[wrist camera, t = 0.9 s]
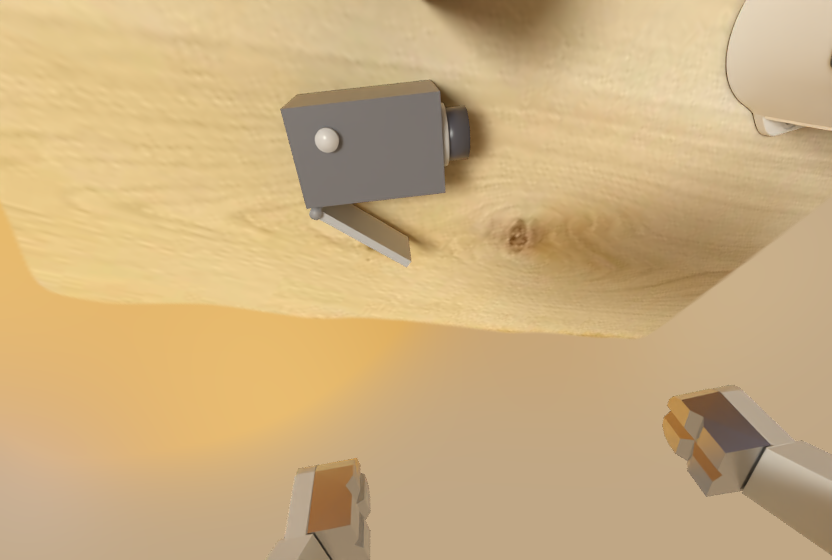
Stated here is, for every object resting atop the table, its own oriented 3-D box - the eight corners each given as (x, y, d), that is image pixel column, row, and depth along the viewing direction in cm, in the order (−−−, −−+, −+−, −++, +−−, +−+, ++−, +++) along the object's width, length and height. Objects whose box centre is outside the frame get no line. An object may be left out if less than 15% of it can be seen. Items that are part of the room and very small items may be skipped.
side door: (408, 234, 43) (412, 262, 38) (403, 241, 43) (406, 270, 38) (321, 183, 39) (312, 207, 34) (316, 191, 40) (307, 216, 35)
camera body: (456, 76, 35) (473, 88, 29) (459, 165, 40) (474, 193, 33) (297, 94, 35) (278, 110, 29) (317, 182, 40) (305, 212, 33)
